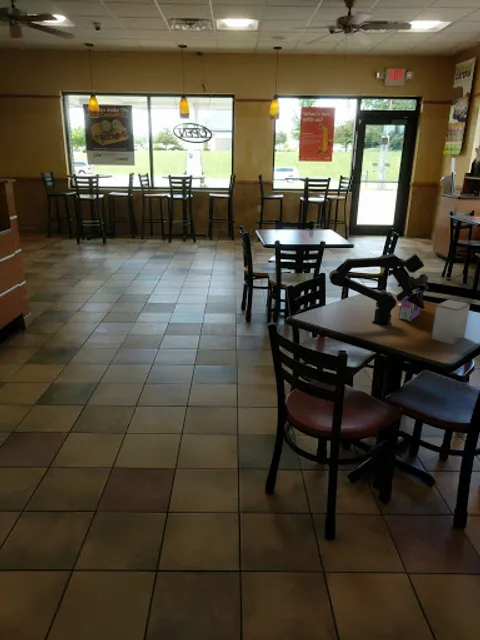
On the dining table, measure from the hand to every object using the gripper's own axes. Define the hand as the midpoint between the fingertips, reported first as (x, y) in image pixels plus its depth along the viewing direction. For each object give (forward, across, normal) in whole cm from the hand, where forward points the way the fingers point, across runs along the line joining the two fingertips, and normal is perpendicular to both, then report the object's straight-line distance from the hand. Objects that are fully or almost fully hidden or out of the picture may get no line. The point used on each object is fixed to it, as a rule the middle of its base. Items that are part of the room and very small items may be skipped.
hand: (423, 308), depth 207 cm
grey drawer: (+15, +1, 0) cm, 15 cm away
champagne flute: (-10, +32, +25) cm, 42 cm away
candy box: (-2, +16, +17) cm, 23 cm away
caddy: (+16, +1, -1) cm, 16 cm away
